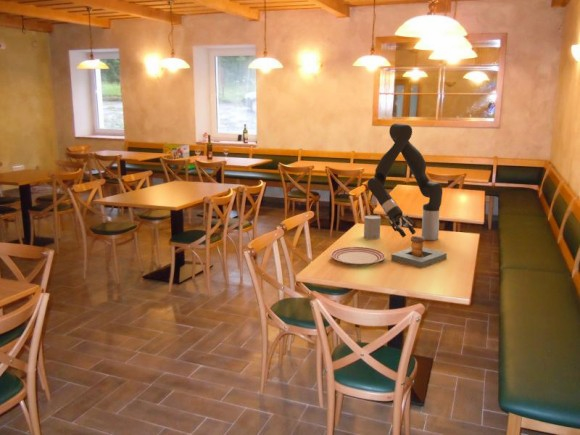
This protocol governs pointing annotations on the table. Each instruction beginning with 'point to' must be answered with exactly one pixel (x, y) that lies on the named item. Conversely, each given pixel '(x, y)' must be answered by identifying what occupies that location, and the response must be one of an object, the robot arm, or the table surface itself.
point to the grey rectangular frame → (427, 259)
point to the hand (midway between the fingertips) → (409, 234)
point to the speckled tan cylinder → (372, 227)
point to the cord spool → (417, 246)
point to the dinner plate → (358, 255)
